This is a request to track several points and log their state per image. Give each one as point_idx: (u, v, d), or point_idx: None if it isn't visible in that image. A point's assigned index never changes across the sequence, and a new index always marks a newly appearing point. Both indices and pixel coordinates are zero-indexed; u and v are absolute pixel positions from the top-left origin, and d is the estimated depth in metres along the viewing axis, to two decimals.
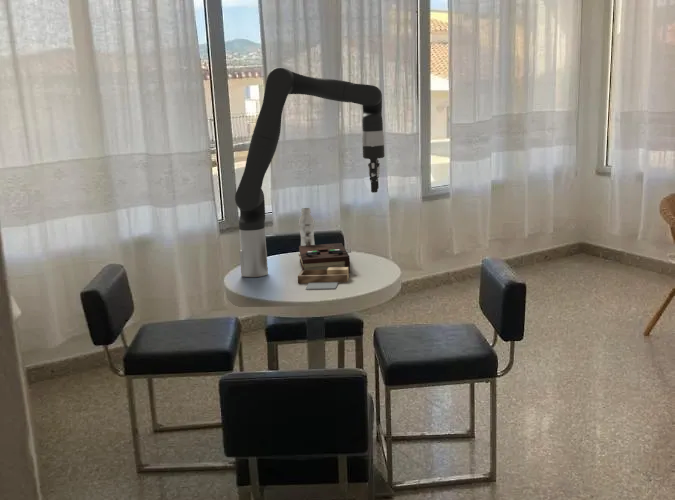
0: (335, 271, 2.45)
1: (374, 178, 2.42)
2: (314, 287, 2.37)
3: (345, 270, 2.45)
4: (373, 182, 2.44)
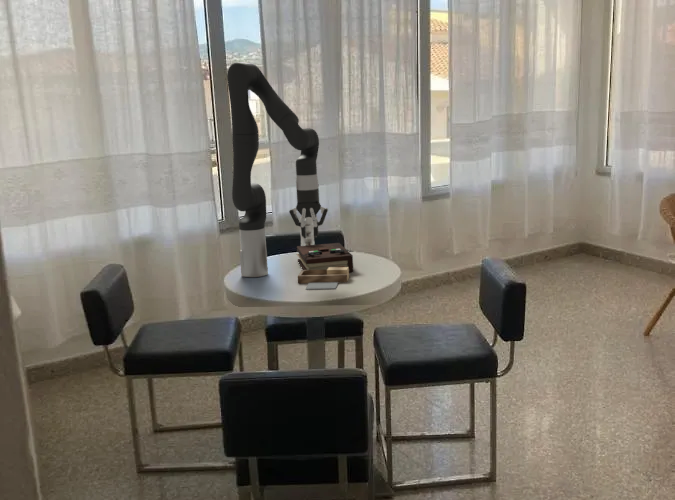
0: (335, 271, 2.45)
1: (322, 222, 2.45)
2: (314, 287, 2.37)
3: (345, 270, 2.45)
4: (317, 227, 2.45)
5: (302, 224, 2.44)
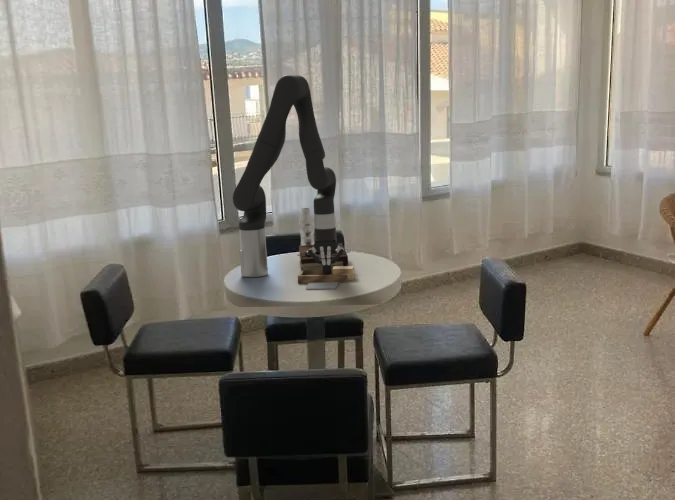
0: (340, 270, 2.46)
1: None
2: (314, 287, 2.37)
3: (350, 269, 2.45)
4: (330, 265, 2.47)
5: (323, 262, 2.46)
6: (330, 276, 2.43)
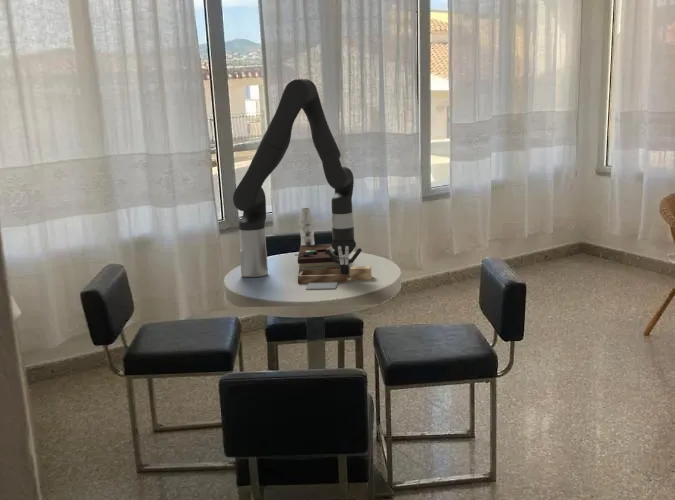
0: (358, 270, 2.45)
1: None
2: (314, 287, 2.37)
3: (368, 269, 2.45)
4: (348, 264, 2.46)
5: (341, 262, 2.45)
6: (330, 276, 2.43)
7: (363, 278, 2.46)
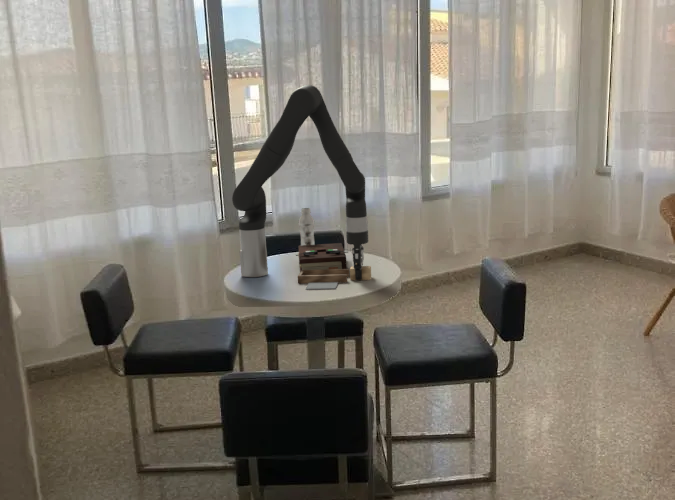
0: None
1: None
2: (314, 287, 2.37)
3: (368, 269, 2.44)
4: None
5: (361, 266, 2.43)
6: (330, 276, 2.43)
7: (363, 278, 2.45)
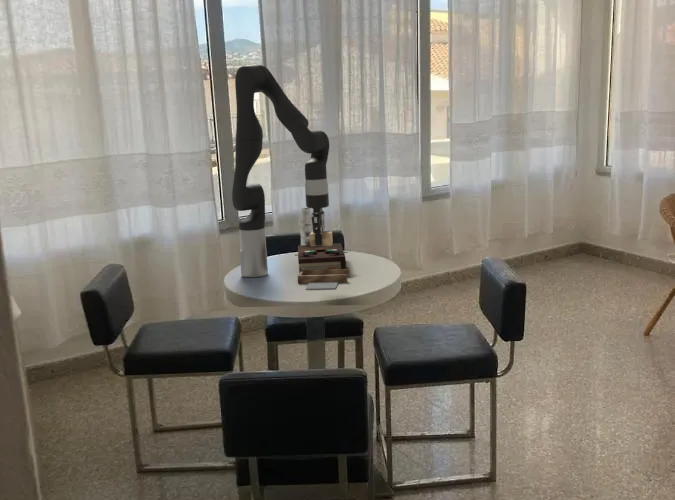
0: None
1: None
2: (314, 287, 2.37)
3: (329, 234, 2.33)
4: None
5: (321, 230, 2.32)
6: (330, 276, 2.43)
7: (323, 244, 2.34)
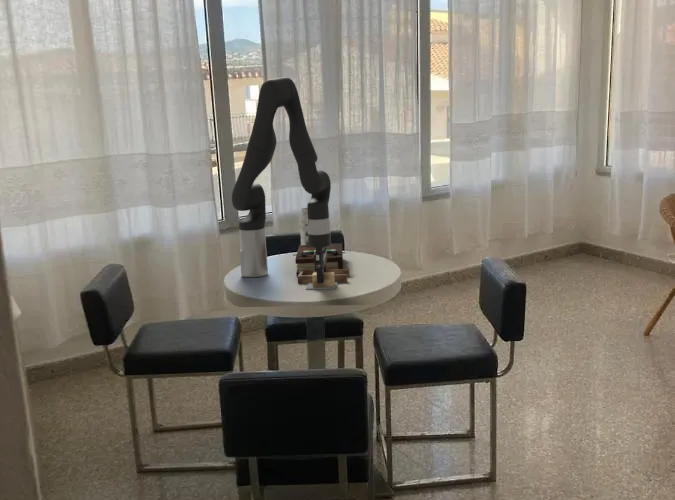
0: None
1: None
2: (314, 287, 2.37)
3: (331, 275, 2.36)
4: None
5: (323, 269, 2.34)
6: None
7: (325, 285, 2.37)
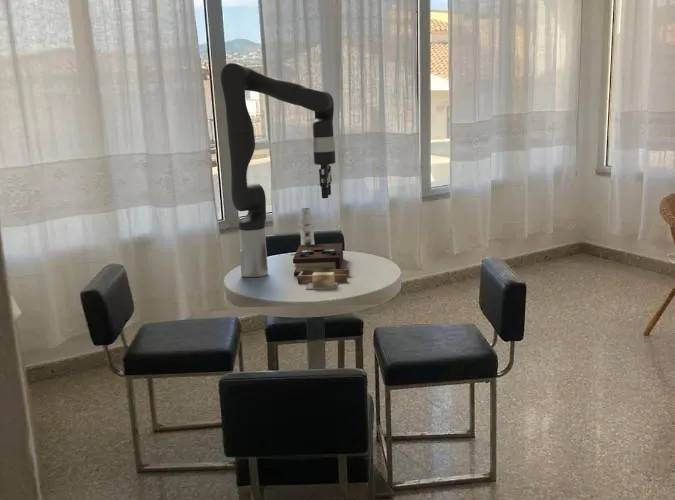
0: (320, 276, 2.36)
1: None
2: (314, 287, 2.37)
3: (331, 275, 2.36)
4: None
5: (327, 184, 2.44)
6: None
7: (325, 285, 2.37)
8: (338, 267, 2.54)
